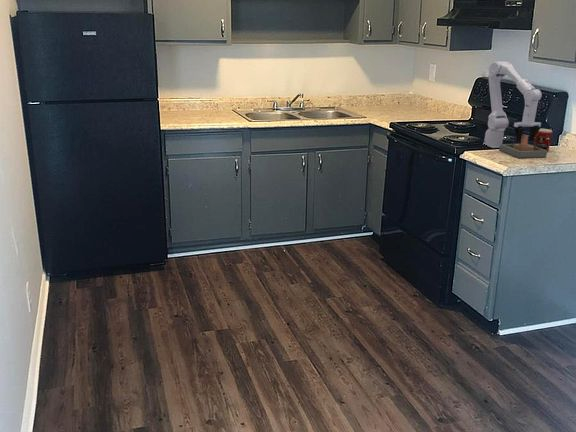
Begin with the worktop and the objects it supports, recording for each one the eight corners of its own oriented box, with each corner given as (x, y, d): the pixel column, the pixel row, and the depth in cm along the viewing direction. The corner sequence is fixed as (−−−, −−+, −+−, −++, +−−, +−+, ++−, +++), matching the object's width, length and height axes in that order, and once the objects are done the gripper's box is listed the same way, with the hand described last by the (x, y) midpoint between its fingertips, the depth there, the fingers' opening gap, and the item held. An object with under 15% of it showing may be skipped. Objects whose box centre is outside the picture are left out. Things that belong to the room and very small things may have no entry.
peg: (518, 152, 300) (520, 135, 297) (523, 152, 301) (525, 134, 298) (521, 153, 297) (524, 136, 294) (526, 153, 298) (529, 136, 295)
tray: (499, 150, 304) (500, 142, 303) (525, 150, 309) (526, 141, 307) (518, 158, 290) (520, 149, 288) (546, 157, 294) (547, 148, 293)
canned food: (531, 150, 308) (535, 130, 304) (534, 148, 314) (538, 127, 310) (546, 153, 304) (550, 132, 300) (549, 150, 310) (553, 129, 306)
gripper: (522, 115, 287) (517, 143, 291) (547, 115, 291) (541, 142, 295) (513, 113, 293) (508, 139, 298) (537, 112, 297) (532, 139, 302)
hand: (524, 140), depth 297 cm, fingers open, 7 cm apart
